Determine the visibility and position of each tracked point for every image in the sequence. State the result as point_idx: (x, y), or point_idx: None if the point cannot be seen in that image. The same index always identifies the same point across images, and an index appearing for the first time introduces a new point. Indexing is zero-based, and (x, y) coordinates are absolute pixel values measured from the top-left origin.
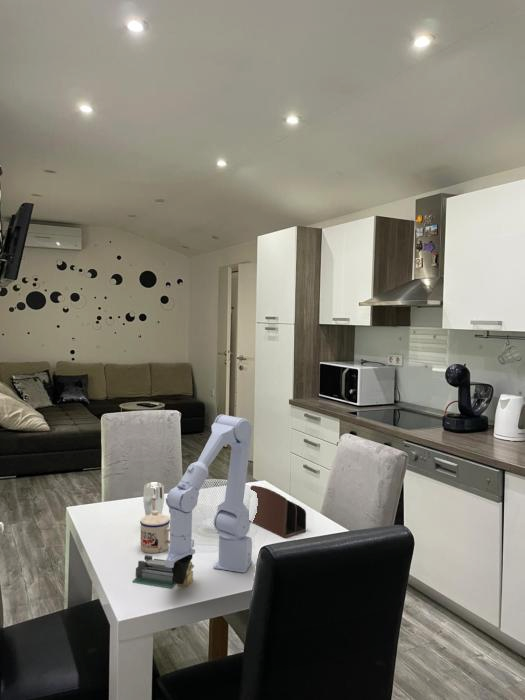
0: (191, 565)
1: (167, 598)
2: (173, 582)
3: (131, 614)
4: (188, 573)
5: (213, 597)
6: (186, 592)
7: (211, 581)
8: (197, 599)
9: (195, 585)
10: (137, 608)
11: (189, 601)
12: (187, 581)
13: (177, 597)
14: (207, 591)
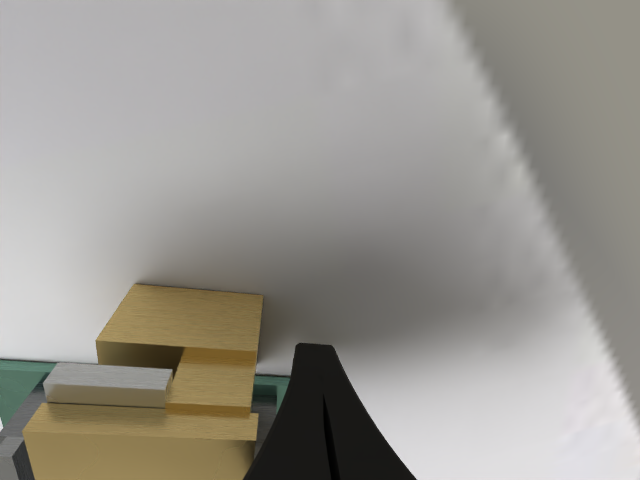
0: (75, 401)
1: (457, 364)
2: (255, 397)
3: (623, 460)
4: (198, 365)
5: (434, 5)
6: (360, 276)
7: (89, 107)
8: (474, 162)
9: (224, 239)
10: (566, 457)
11: (506, 218)
12: (258, 321)
13: (442, 313)
14: (315, 102)
